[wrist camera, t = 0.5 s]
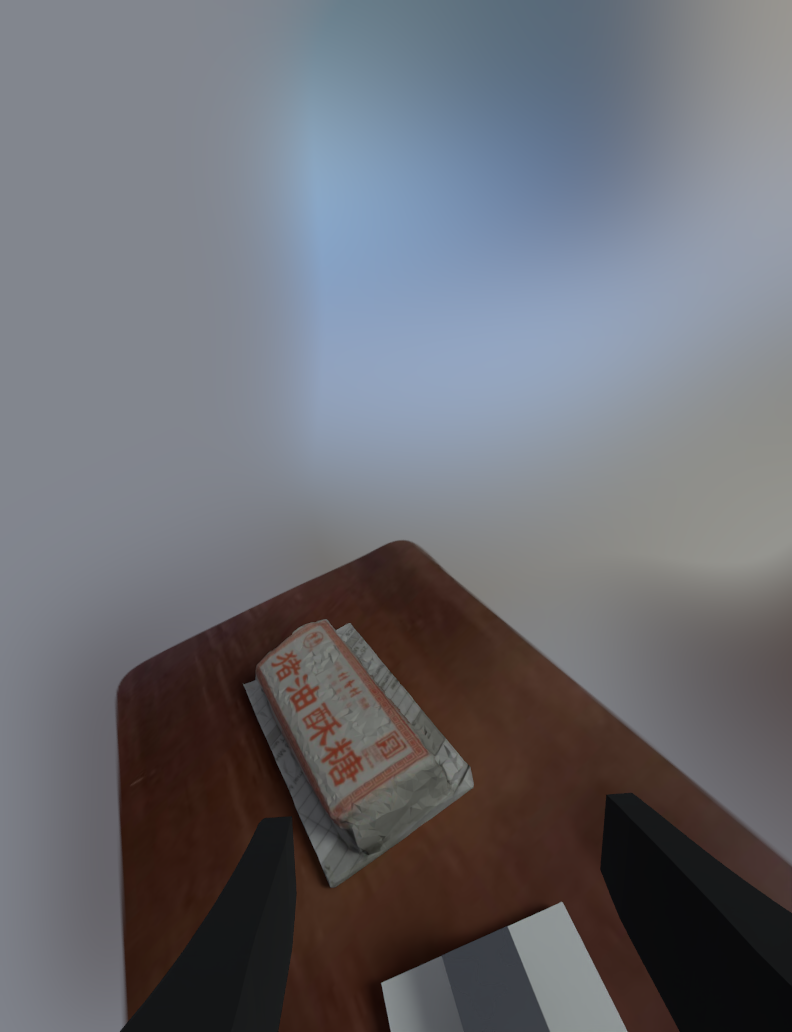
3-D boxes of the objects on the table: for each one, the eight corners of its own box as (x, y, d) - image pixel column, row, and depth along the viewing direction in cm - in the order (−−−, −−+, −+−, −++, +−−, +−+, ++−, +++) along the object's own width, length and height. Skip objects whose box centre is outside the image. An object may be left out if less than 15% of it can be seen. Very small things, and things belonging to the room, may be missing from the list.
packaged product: (470, 737, 30) (309, 848, 26) (481, 790, 32) (335, 897, 29) (340, 591, 44) (225, 651, 41) (354, 634, 47) (247, 694, 43)
